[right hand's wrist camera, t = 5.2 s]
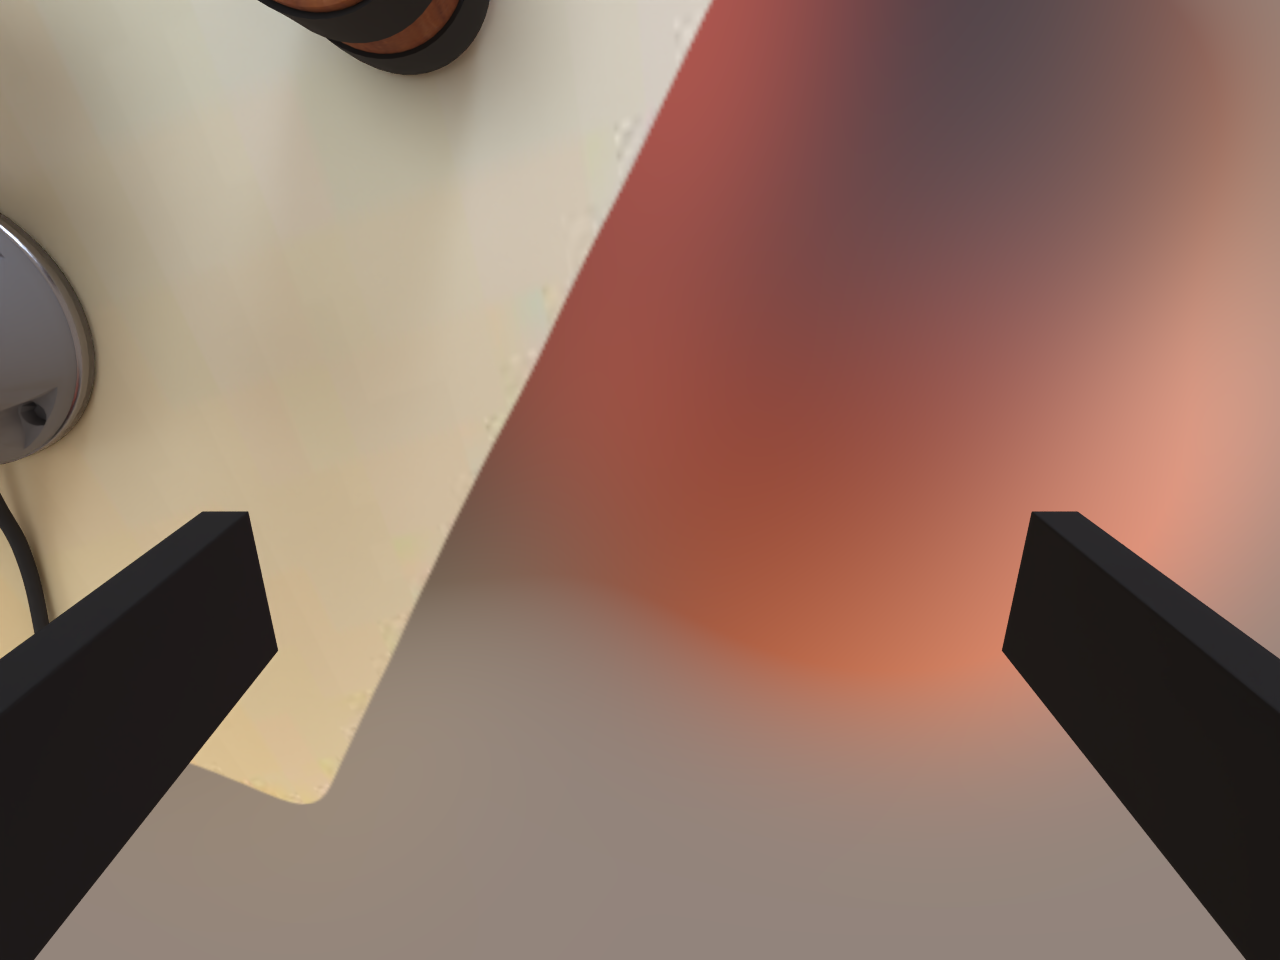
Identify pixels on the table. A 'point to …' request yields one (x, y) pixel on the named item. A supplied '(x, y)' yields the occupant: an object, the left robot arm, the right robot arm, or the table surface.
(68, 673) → the right robot arm
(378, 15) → the mug
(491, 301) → the table surface
